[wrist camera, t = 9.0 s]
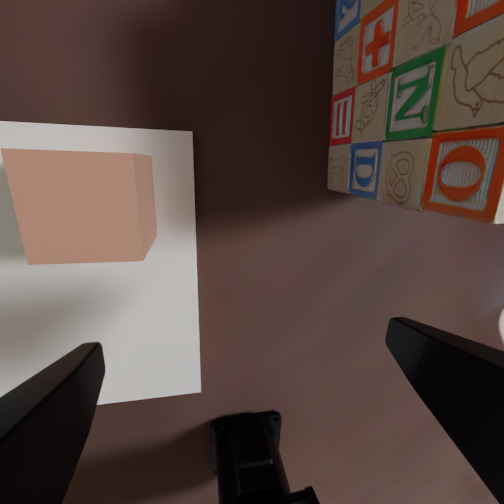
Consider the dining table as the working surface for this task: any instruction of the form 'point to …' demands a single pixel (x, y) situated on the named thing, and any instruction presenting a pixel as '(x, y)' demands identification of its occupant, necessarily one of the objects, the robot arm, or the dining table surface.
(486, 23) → the stack of blocks
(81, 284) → the board
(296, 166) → the dining table surface
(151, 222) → the terracotta cube
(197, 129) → the dining table surface
